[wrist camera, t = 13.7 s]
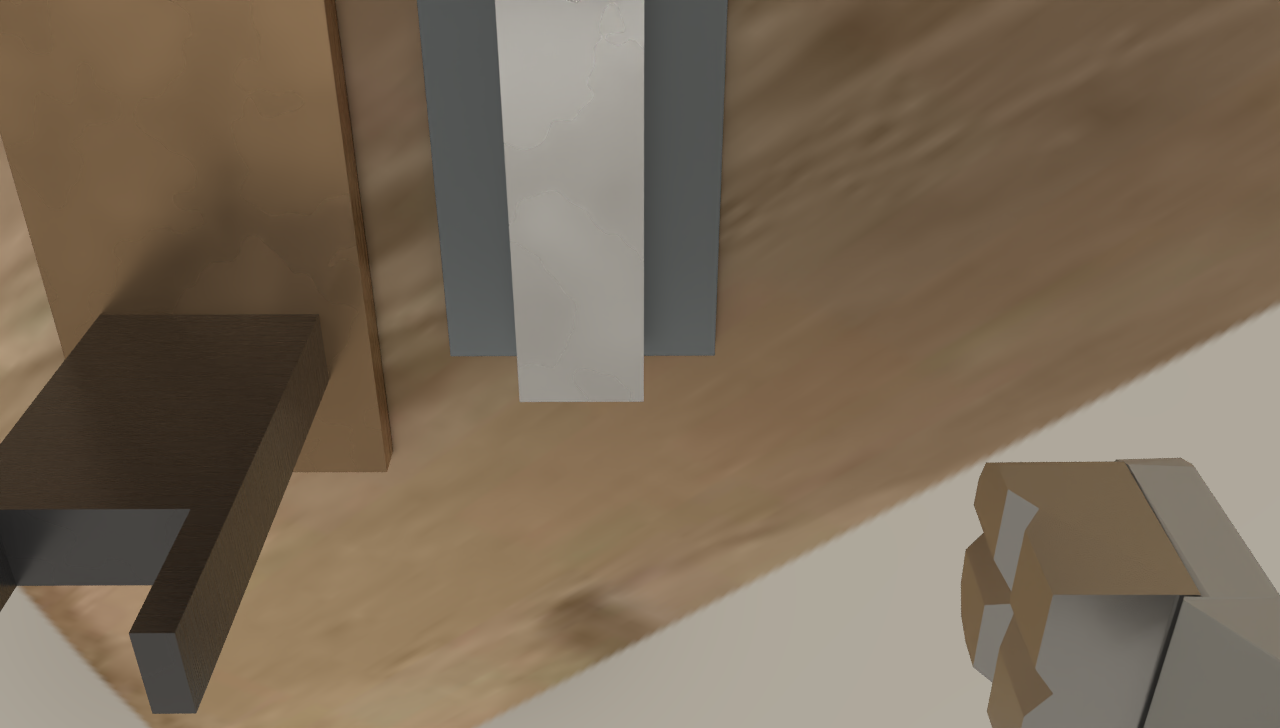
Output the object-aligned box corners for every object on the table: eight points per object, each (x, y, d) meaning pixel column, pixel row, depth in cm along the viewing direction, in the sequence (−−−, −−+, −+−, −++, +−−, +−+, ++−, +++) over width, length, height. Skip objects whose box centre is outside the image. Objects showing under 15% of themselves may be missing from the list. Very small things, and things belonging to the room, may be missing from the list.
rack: (270, -493, 23) (-38, -587, 13) (393, 450, 35) (286, 820, 24) (-151, -493, 23) (-819, -589, 13) (111, 452, 35) (-122, 821, 24)
